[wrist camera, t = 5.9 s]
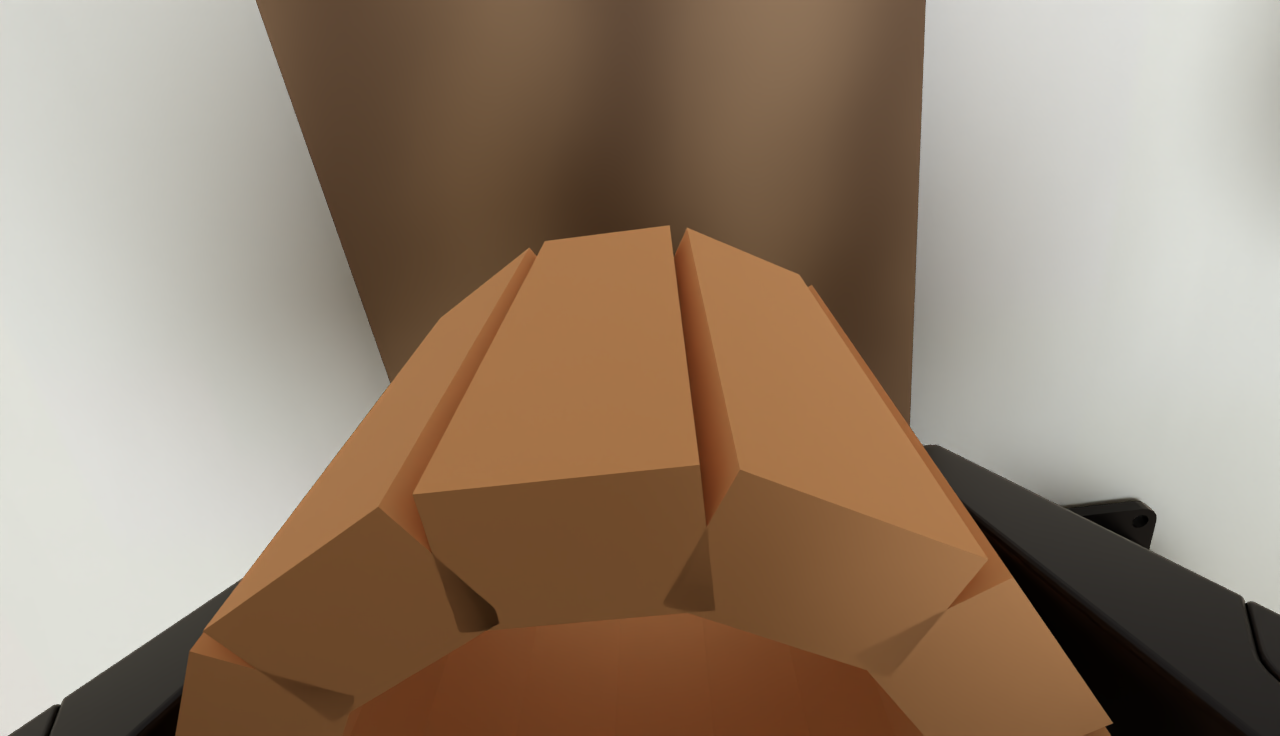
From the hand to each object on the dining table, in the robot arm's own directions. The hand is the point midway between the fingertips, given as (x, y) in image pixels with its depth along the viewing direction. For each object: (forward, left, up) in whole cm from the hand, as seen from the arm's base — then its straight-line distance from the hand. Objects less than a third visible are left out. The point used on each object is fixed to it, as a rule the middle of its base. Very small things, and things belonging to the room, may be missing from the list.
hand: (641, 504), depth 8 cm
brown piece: (0, +1, -11) cm, 11 cm away
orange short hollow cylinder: (0, 0, -1) cm, 1 cm away
